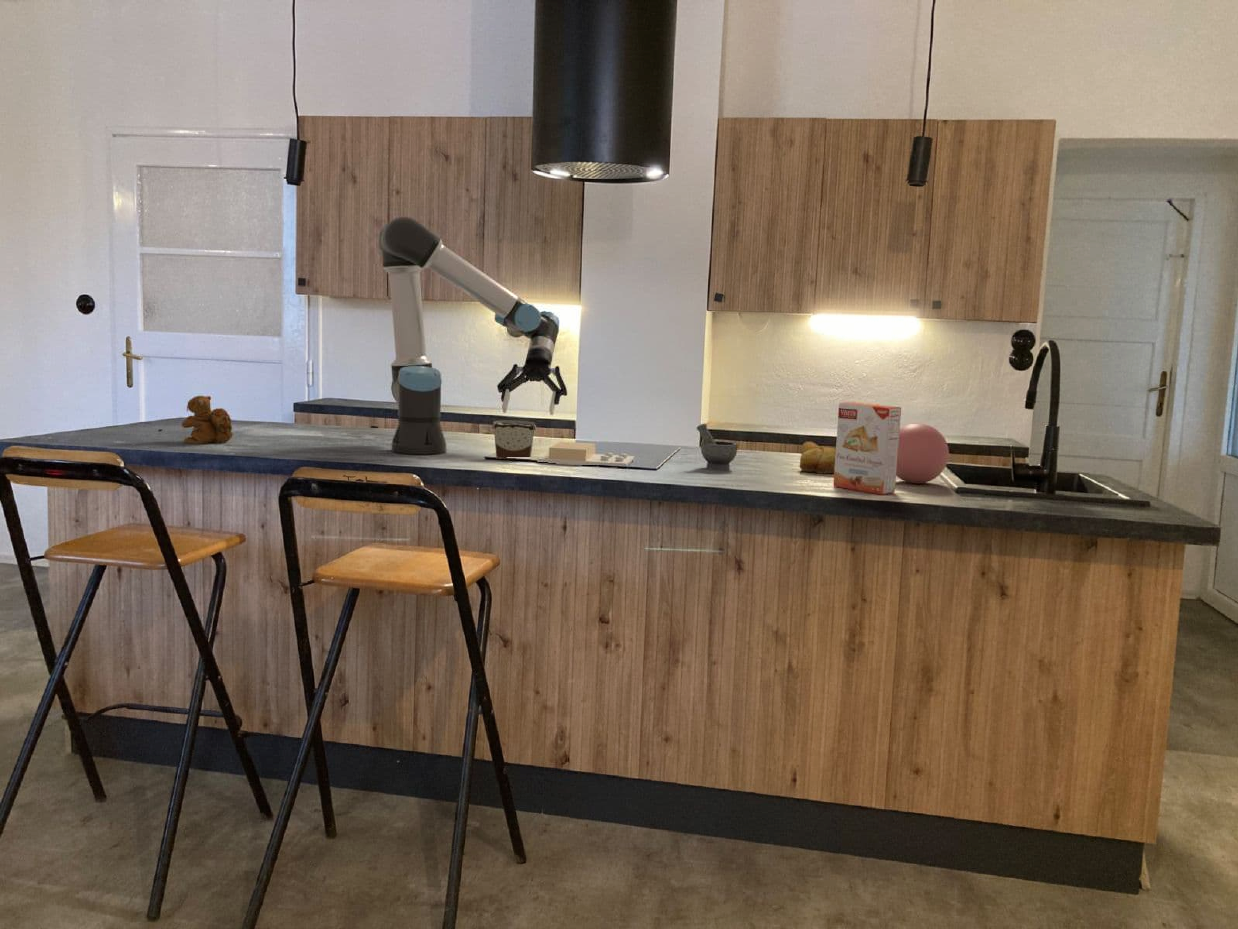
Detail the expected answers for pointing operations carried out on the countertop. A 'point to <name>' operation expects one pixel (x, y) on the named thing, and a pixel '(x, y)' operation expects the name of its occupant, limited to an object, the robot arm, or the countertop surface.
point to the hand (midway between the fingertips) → (527, 411)
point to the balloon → (921, 453)
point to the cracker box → (867, 447)
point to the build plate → (589, 462)
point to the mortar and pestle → (716, 450)
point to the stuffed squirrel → (207, 422)
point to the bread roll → (817, 458)
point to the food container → (513, 438)
